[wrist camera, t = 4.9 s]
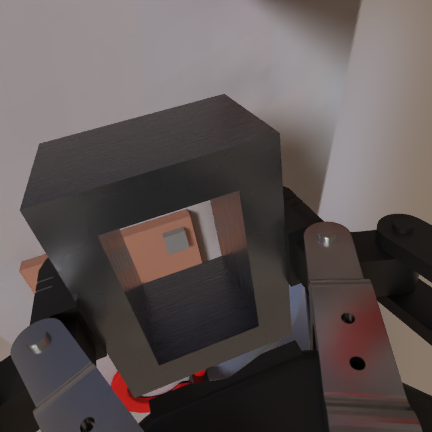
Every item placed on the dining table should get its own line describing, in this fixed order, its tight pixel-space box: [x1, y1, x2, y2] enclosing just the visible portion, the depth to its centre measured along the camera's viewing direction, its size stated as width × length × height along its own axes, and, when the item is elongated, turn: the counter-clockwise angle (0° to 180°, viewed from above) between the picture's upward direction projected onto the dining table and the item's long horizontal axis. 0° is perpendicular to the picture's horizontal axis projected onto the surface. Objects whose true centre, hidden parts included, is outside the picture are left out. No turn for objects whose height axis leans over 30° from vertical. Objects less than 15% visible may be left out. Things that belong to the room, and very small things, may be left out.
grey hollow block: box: [20, 94, 291, 398], centre depth 12 cm, size 8×6×4 cm
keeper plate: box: [19, 210, 202, 294], centre depth 24 cm, size 10×12×8 cm
